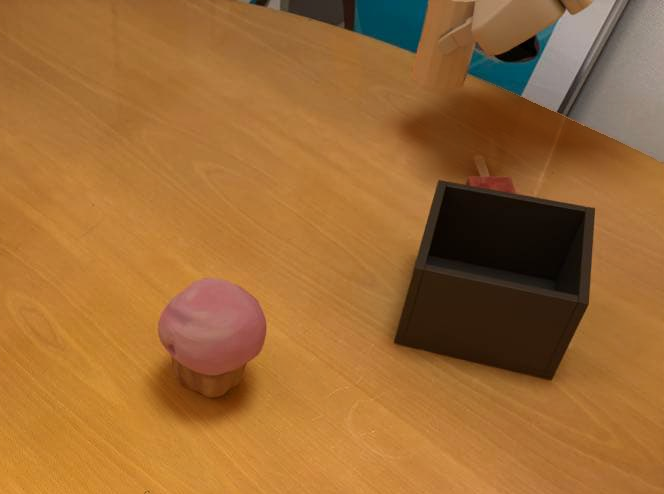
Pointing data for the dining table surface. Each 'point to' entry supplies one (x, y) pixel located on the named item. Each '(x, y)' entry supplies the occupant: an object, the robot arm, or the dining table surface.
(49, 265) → the dining table surface
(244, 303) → the cupcake
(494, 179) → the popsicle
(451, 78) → the cardboard tube
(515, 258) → the bin
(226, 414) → the dining table surface
